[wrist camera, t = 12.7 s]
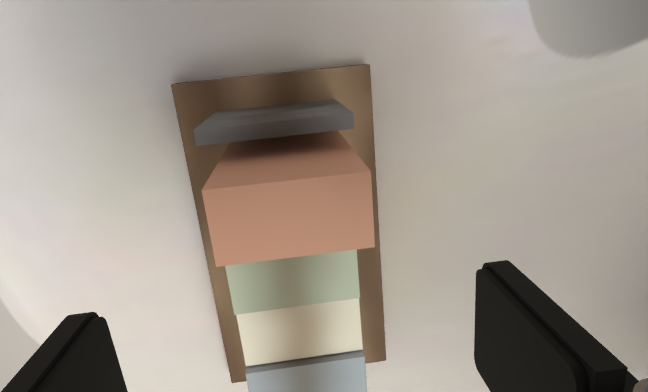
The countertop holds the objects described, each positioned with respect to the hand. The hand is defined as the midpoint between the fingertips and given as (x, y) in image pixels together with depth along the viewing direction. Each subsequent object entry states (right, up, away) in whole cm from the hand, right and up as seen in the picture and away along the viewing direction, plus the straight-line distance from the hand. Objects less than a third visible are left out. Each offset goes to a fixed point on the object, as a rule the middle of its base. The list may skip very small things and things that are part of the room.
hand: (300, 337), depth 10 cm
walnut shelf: (-2, +1, +22) cm, 22 cm away
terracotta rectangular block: (-2, +6, +19) cm, 20 cm away
